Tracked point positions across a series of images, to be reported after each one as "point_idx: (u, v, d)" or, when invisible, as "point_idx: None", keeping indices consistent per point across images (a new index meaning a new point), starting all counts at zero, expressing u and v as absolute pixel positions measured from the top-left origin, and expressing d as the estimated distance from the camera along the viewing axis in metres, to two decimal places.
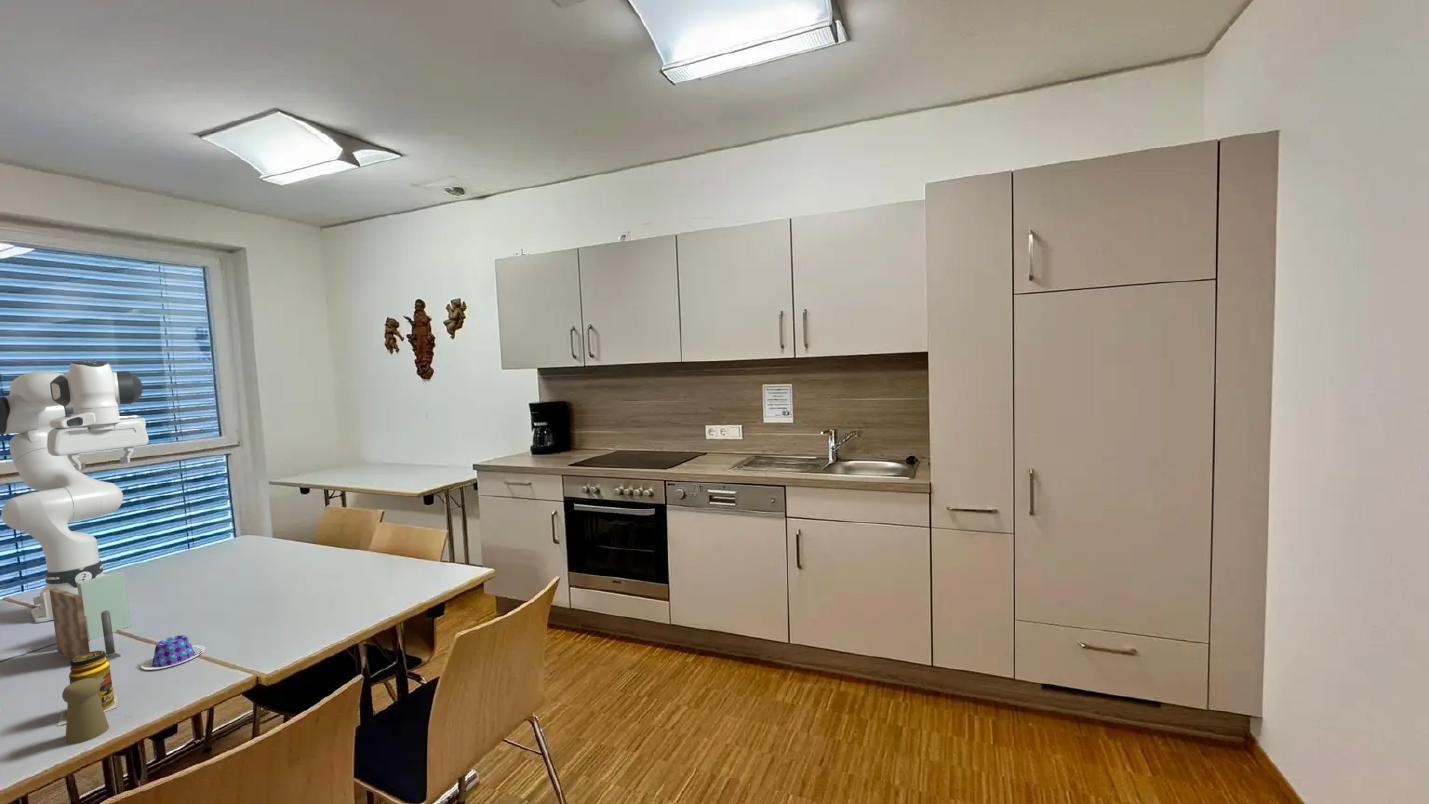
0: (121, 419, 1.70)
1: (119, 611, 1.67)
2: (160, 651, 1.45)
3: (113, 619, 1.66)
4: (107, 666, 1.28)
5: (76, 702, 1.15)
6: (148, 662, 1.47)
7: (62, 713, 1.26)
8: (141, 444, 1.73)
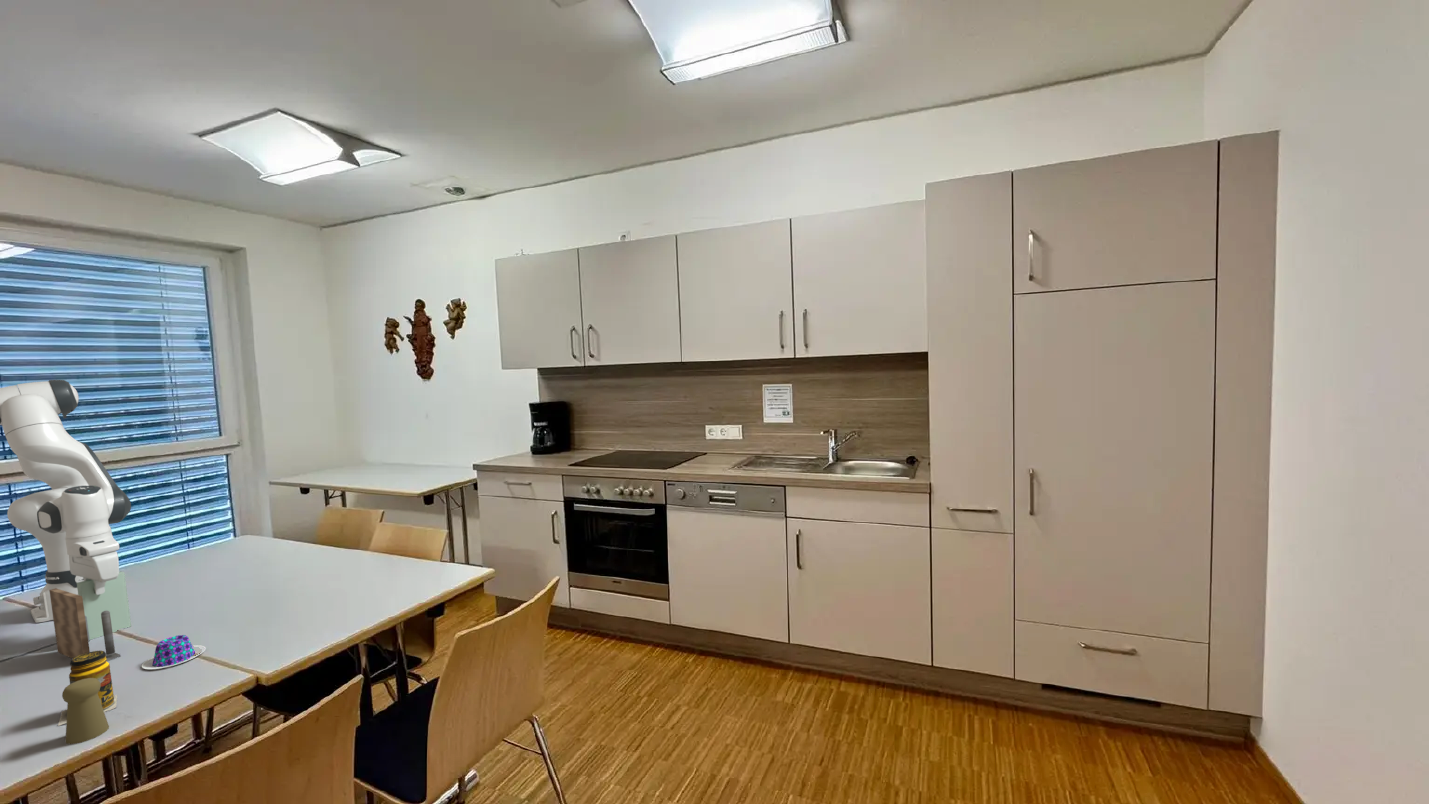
0: None
1: (119, 611, 1.67)
2: (160, 651, 1.45)
3: (113, 619, 1.66)
4: (107, 666, 1.28)
5: (76, 702, 1.15)
6: (149, 661, 1.47)
7: (62, 713, 1.26)
8: None
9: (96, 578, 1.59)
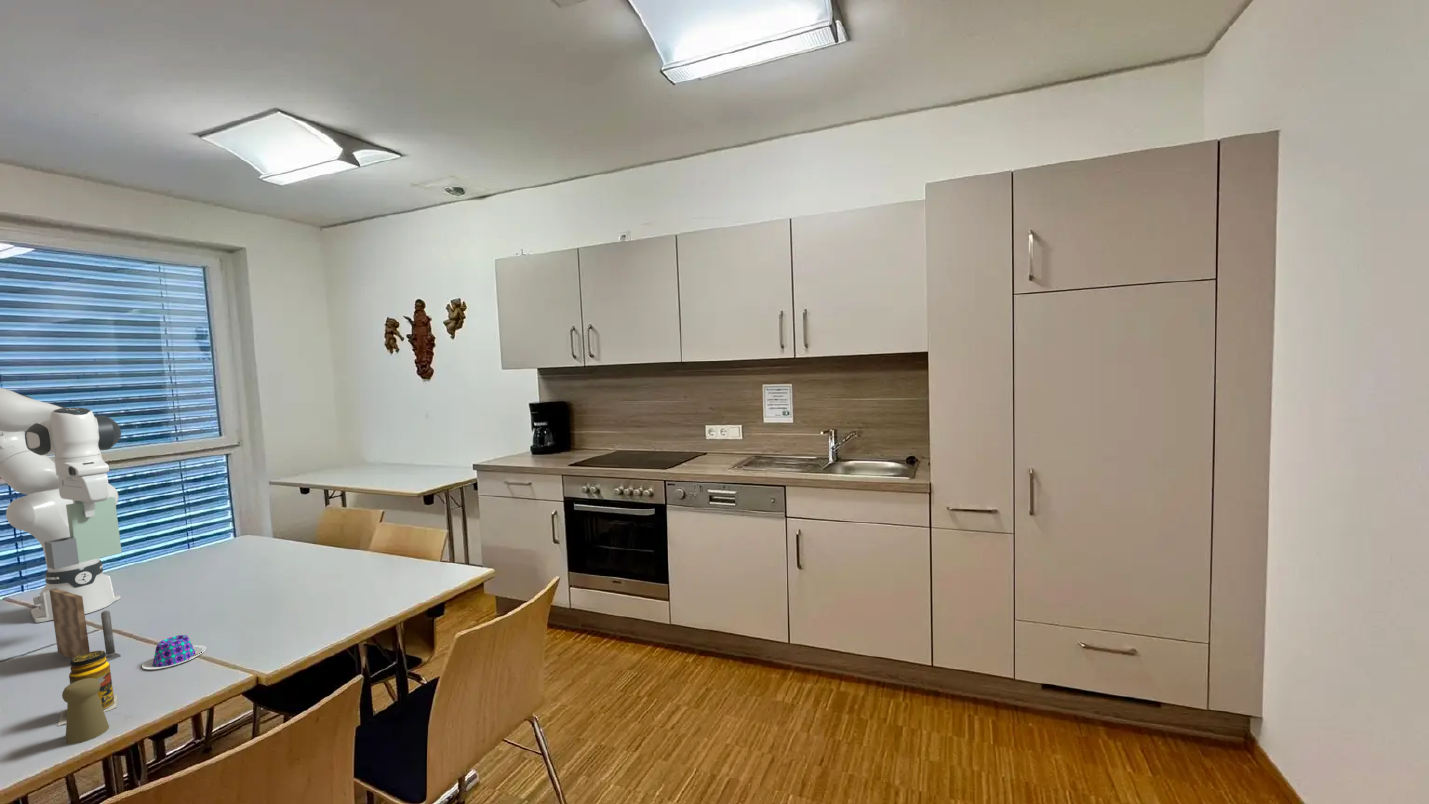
0: None
1: (109, 536, 1.66)
2: (160, 651, 1.45)
3: (103, 544, 1.65)
4: (107, 666, 1.28)
5: (76, 702, 1.15)
6: (149, 661, 1.47)
7: (62, 713, 1.26)
8: None
9: (85, 499, 1.57)
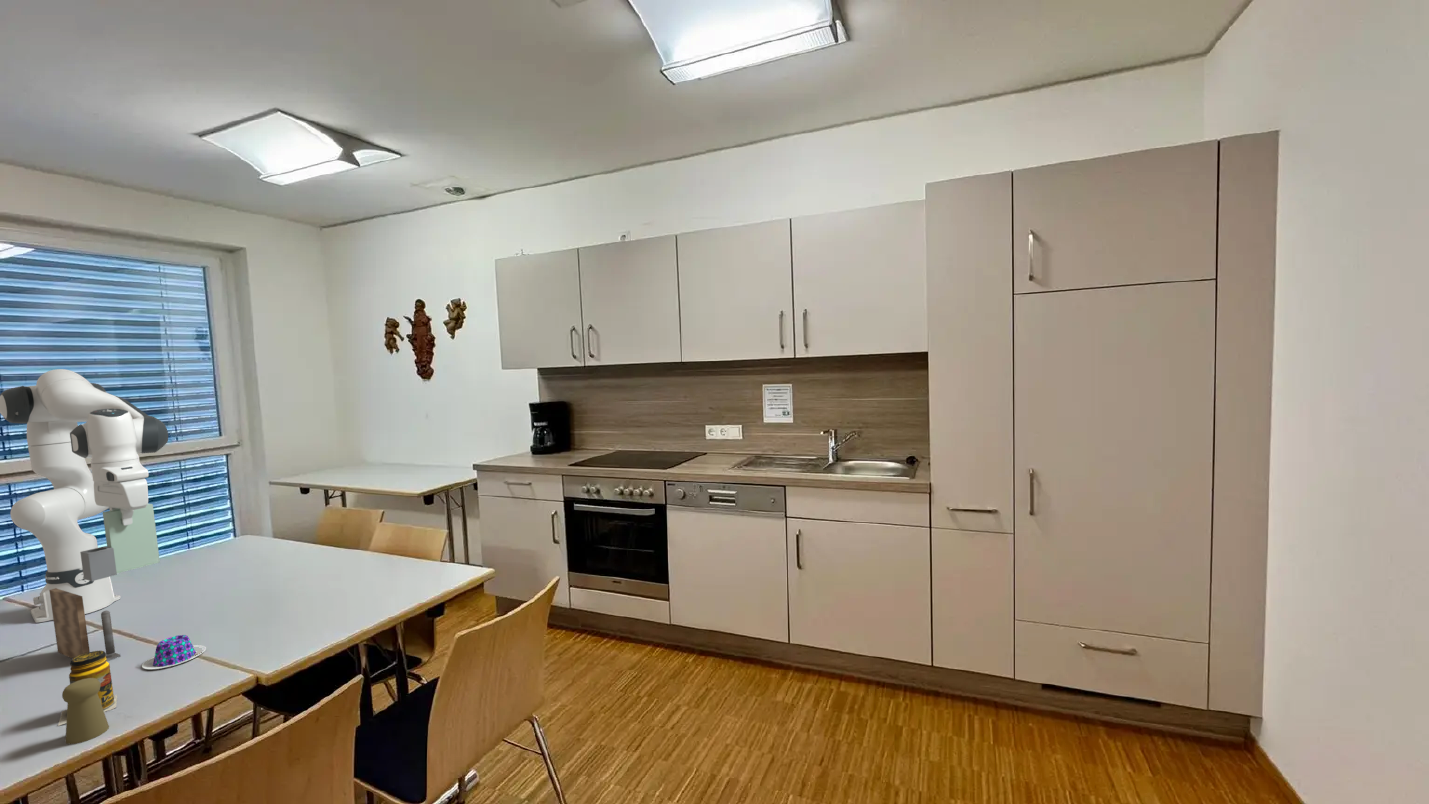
0: None
1: (147, 545, 1.56)
2: (161, 651, 1.45)
3: (141, 553, 1.55)
4: (107, 666, 1.28)
5: (76, 702, 1.15)
6: (148, 662, 1.47)
7: (62, 713, 1.26)
8: None
9: (124, 506, 1.48)
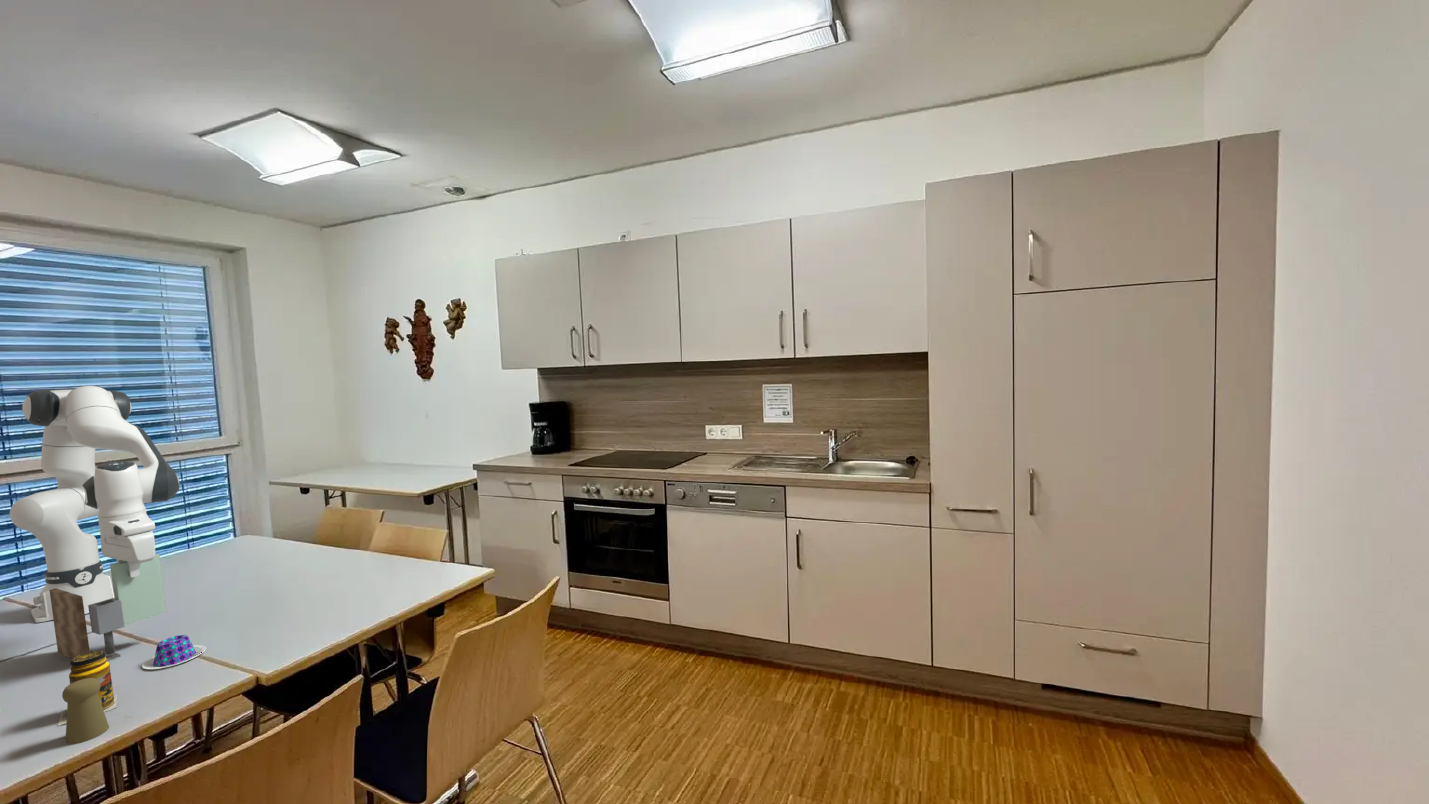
0: None
1: (154, 595, 1.57)
2: (162, 651, 1.45)
3: (148, 604, 1.56)
4: (107, 666, 1.28)
5: (76, 702, 1.15)
6: (148, 662, 1.47)
7: (62, 713, 1.26)
8: None
9: (131, 559, 1.49)
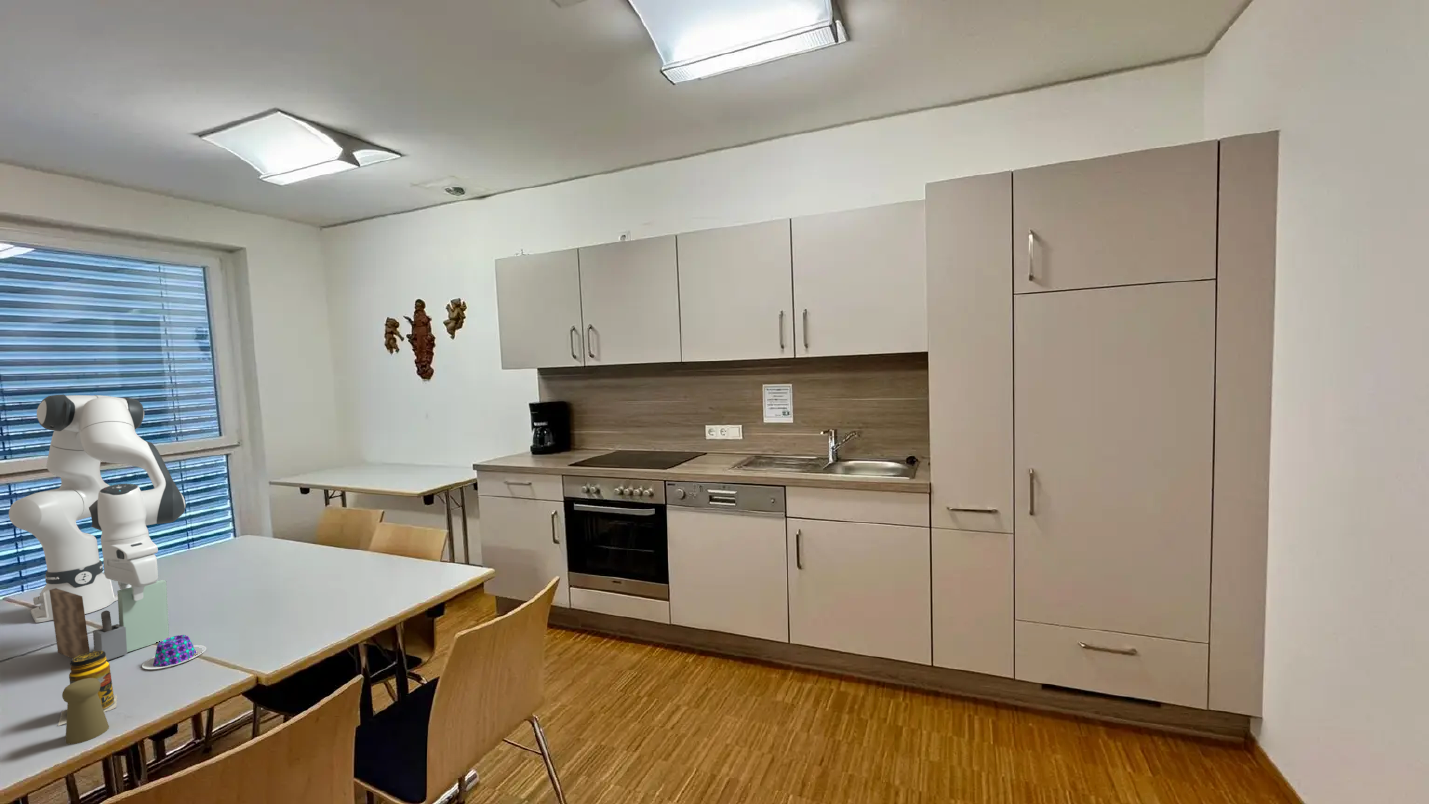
0: None
1: (158, 622, 1.58)
2: (164, 651, 1.45)
3: (151, 631, 1.57)
4: (107, 666, 1.28)
5: (76, 702, 1.15)
6: (147, 663, 1.46)
7: (62, 713, 1.26)
8: None
9: (134, 583, 1.49)
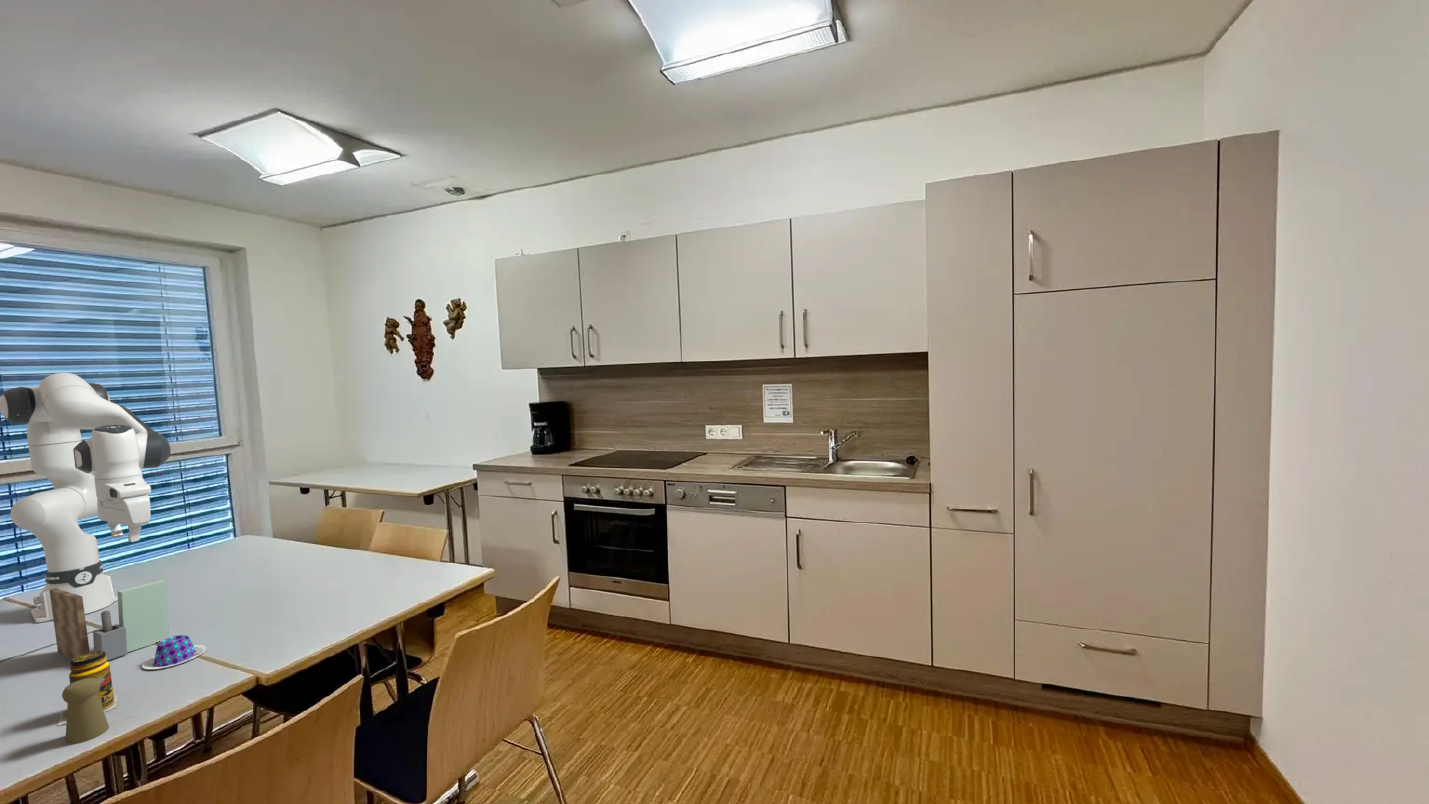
0: None
1: (158, 622, 1.58)
2: (165, 650, 1.45)
3: (151, 631, 1.57)
4: (107, 666, 1.28)
5: (76, 702, 1.15)
6: (146, 664, 1.46)
7: (62, 713, 1.26)
8: None
9: (126, 522, 1.49)
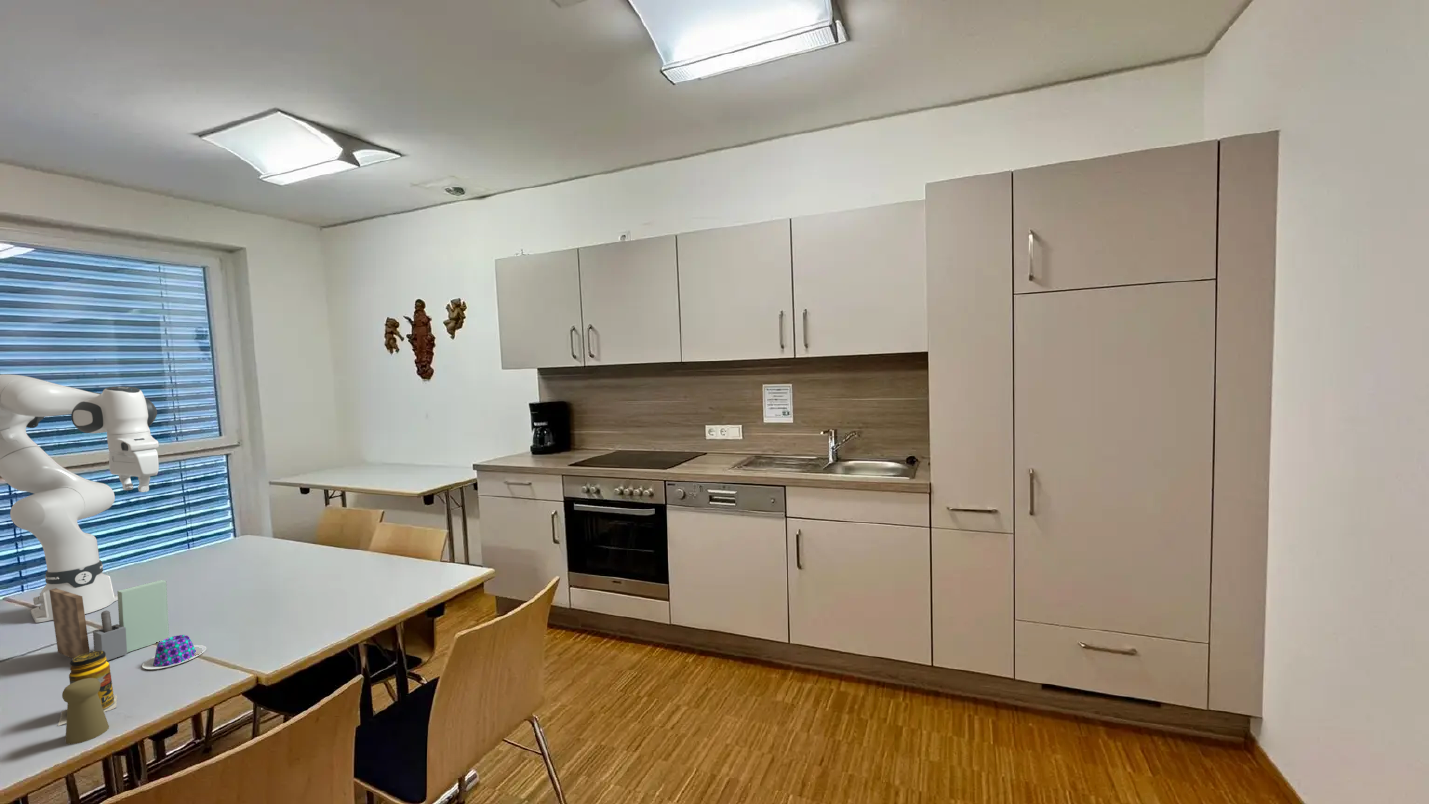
0: None
1: (158, 622, 1.58)
2: (166, 650, 1.45)
3: (151, 631, 1.57)
4: (107, 666, 1.28)
5: (76, 702, 1.15)
6: (146, 664, 1.46)
7: (62, 713, 1.26)
8: None
9: (137, 473, 1.64)
